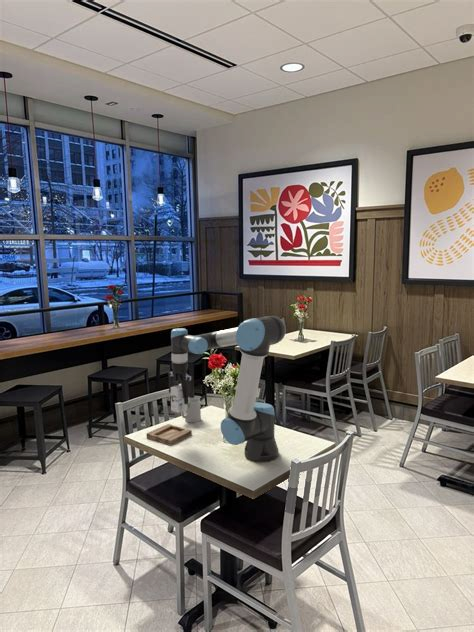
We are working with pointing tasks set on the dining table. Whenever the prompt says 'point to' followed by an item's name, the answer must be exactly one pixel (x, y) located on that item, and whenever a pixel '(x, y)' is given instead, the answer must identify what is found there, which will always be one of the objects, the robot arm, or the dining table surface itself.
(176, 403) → the ink box
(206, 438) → the dining table surface
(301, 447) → the dining table surface
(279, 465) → the dining table surface
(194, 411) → the mug
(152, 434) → the tray
